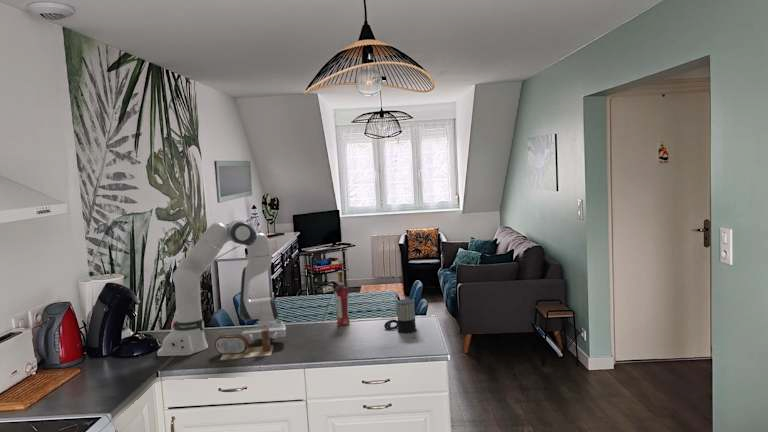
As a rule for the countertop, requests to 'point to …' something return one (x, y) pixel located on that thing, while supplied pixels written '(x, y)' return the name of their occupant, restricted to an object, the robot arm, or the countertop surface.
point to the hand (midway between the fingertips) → (262, 337)
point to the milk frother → (404, 317)
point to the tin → (231, 344)
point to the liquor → (341, 301)
